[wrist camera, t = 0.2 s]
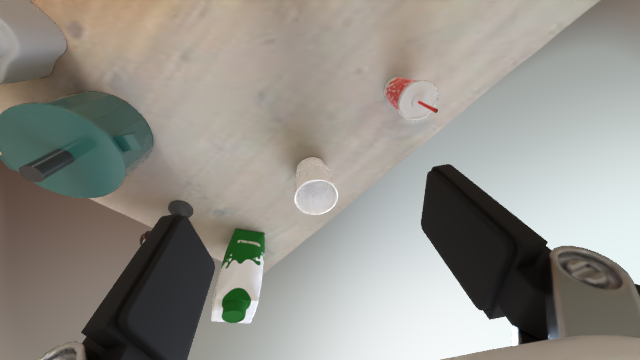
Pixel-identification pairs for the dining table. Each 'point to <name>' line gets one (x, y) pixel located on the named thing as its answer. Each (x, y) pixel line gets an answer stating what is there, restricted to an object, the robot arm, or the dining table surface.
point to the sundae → (174, 208)
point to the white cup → (314, 187)
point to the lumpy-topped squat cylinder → (27, 42)
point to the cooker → (111, 123)
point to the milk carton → (239, 278)
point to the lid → (61, 150)
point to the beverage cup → (411, 97)
